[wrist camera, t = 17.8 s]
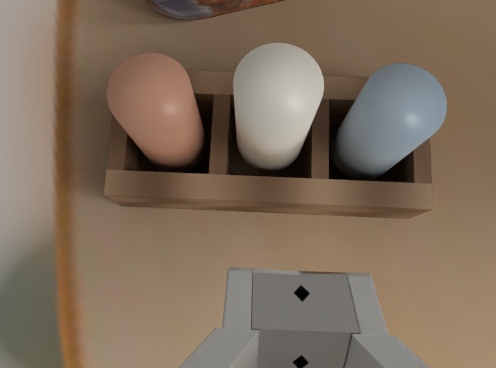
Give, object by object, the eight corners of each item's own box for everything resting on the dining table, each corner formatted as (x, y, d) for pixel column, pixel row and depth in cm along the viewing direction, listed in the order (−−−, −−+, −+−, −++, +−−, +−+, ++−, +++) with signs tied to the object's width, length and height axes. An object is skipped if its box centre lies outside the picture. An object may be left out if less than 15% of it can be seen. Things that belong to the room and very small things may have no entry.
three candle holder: (122, 206, 30) (103, 194, 26) (133, 93, 32) (118, 67, 28) (408, 218, 30) (432, 209, 26) (404, 105, 32) (427, 80, 28)
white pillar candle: (267, 96, 28) (274, 26, 20) (315, 138, 28) (342, 81, 20) (223, 141, 28) (214, 86, 20) (272, 185, 27) (282, 145, 19)
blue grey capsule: (357, 109, 30) (397, 47, 22) (405, 148, 29) (464, 100, 21) (317, 152, 29) (344, 104, 21) (366, 193, 28) (411, 160, 21)
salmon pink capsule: (174, 101, 30) (149, 36, 22) (219, 140, 29) (209, 89, 21) (131, 144, 29) (88, 94, 21) (175, 185, 29) (148, 149, 21)
